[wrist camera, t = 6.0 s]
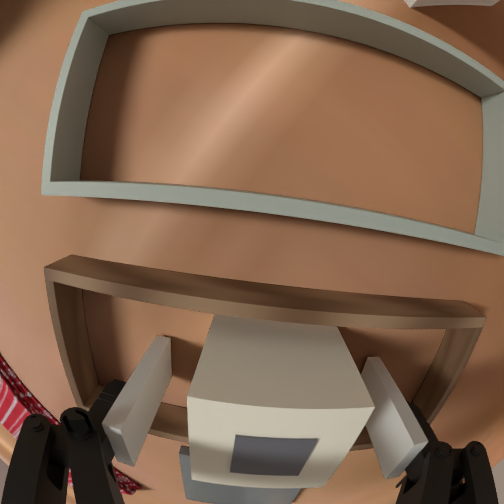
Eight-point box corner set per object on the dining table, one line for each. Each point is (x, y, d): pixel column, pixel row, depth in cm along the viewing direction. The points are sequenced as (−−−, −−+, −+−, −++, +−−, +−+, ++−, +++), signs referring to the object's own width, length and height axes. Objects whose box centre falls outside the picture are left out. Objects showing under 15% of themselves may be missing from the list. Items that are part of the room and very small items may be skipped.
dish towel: (-18, 317, 15) (-35, 328, 12) (147, 483, 19) (141, 500, 17) (-31, 369, 18) (-41, 378, 15) (85, 486, 22) (79, 497, 19)
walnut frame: (93, 387, 15) (78, 409, 12) (71, 254, 12) (43, 267, 10) (408, 417, 15) (419, 439, 12) (463, 301, 12) (486, 317, 10)
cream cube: (210, 398, 14) (191, 481, 9) (215, 311, 13) (186, 398, 7) (309, 407, 14) (323, 488, 9) (335, 324, 13) (375, 408, 7)
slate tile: (187, 493, 18) (186, 499, 17) (181, 445, 16) (179, 453, 15) (287, 502, 18) (287, 508, 17) (315, 457, 16) (316, 465, 15)
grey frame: (70, 191, 12) (41, 195, 9) (103, 28, 9) (82, 11, 7) (478, 245, 12) (504, 256, 9) (486, 93, 9) (510, 86, 7)
